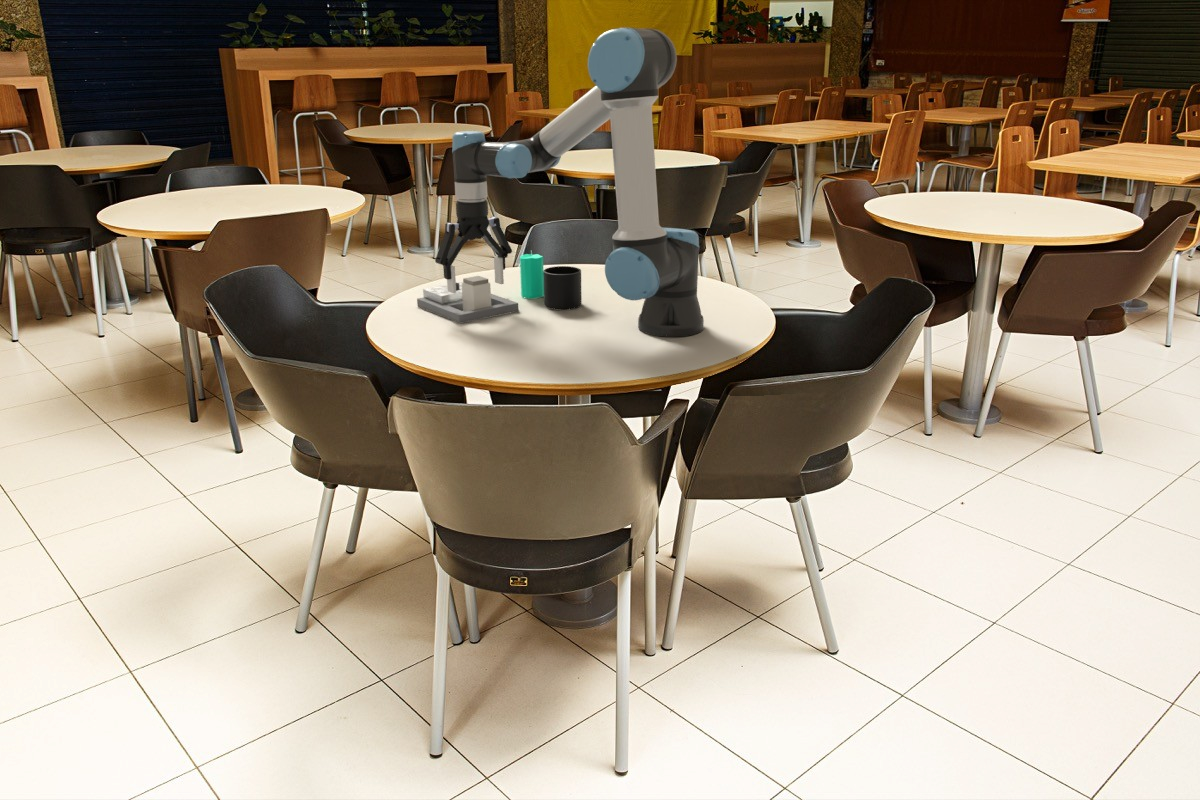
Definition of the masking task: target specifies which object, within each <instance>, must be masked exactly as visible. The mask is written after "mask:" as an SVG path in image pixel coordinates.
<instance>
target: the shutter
mask: <svg viewBox="0 0 1200 800" xmlns="http://www.w3.org/2000/svg"><path fill="white" fill-rule="evenodd" d="M462 282H463V281H461V282H456V293H451V292H449V291H448V287H447V284H443V285H439V286H433V287H426V288H423V289H422V293H423V297H425V298H428V299H430V300H433V301H436V302H438V303H441V304H444V303H450V302H455V301H460V300H463V297H462Z"/></svg>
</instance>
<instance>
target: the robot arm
mask: <svg viewBox="0 0 1200 800" xmlns="http://www.w3.org/2000/svg"><path fill="white" fill-rule="evenodd" d="M677 57H678V56H677V51H676V48H675V45H674V43H673V41H672V40H671V39H670V37H668V35H666V34H665V33H664V32H663V31H661V30H658V29H654V28H639V27H638V28H635V27H619V28H614V29H610V30H607V31H605V32H603V33H602V34H600V35H599V36H598V37H597V38H596V39H595V41H594V43H592V46H591V47H590V50H589V54H588V57H587V69H588V74H589V77H590V79H591V81H592V82H593V83H594V84H595V86H594V87H592V88H591V89H590V90H588V91H587V92H586V93H585V94H584V95H582V96H581V97H580V98H579V99H578V100H577V101H575V102H574V103H572V104H571V105H570V106H569V107H568V108H566V109H565V110H563V112H561V113H560V114H559V115H558V116H557V117H555V118H553V119H552V120H551V121H550V122H549V123H547V124H546V125H545V126H544V127H543V128H542V129H540V130H539V131H538V132H537V133H535V134H534V135H533V136H532V137H530V138H527V139H520V140H513V141H505V142H499V141H498V142H495V141H494V142H493V141H492V142H491V141H486V140H487V139H486V137H485V136H486V135H485V133H484V132H482V131H479V130H478V131H477V130H465V131H464V130H463V131H456V132H455V133H454V134H453V135H452V145H451V146H452V150H451V153H452V161H453V174H454V194H455V195H454V196H455V199H456V201H455V213H456V218H457V221H456V223H451V222H445V225H444V227H445V228H444V234H443V237H442V240H441V243H440V245H439V248H438V251H437V254H436V257H435V260H434V261H435V263H436V264H439V265H442V266H443V268H442V270H443V278H444V279H445V280H446V285H447V287H448V291H449V292H451V293H456V283H457V282H456V268H455V267H456V266H455V265H453V263H454V261H455V260H456V259H457V257H458V255H459V253H460V251H461V250H462V249H463V246H464V245H465V244H466V243H467V242H468V241H474V240H475V239H477V240H478V239H479V240H481V239H483V240H484V242H485V243H486V244H487V245H488V247H490V249H491V250H492V251H493V252H494V253H495V255H496V256H495V255H494V256H493V262H494V263H493V265H494V268H493V269H494V283H496V284H498V285H504V284H505V283H504V281H505V280H504V270H506V258H508V255H510V254H512V252H513V250H512V248H511V245H510V243H509V242H508V238H506V235H505V234H504V231H503V229H502V227H501V222H500V218H499V217H496V216H490V217H489V218H488V216H489V204H488V203H489V202H488V201H487V198H488V183H487V180H488V179H487V176H490V177H500V178H507V179H522V178H524V177H526V176H527V174H529V173H535V172H543V171H544V172H545V171H547V170H550V169H553V168H555V167H556V166H558V164H559V163H560V160H561V158H562V156H563V155H564V154H566V153H567V152H569V151H570V150H571V149H572V148H574V147H575V146H576V145H578V144H579V143H580V142H581V141H583V140H584V139H585V138H587V137H588V136H589V135H590V134H592V133H593V132H595V131H596V130H597V129H598V128H600V127H602V125H604V124H605V123H606V122H608V121H609V120H610V132H611V147H612V159H613V161H612V162H613V170H614V171H613V172H614V173H613V174H614V185H615V197H616V209H617V211H616V213H617V222H618V223H617V224H618V228H617V230H616V231H615V232H614V233H613V234H612V238H611V239H612V251H611V252H610V254H609V255H608V257H607V258H606V261H605V264H604V274H605V278H606V281H607V283H608V285H609V287H610V288H611V290H612V291H614V292H615V293H616V294H617V295H618V296H619V297H620V298H623V299H625V300H628V301H641V300H643V299H644V301H643V304H642V308H641V313H640V314H639V316H638V319H637V322H638V325H637V327H638V330H639V331H641V332H642V333H645V334H646V335H647V334H648V335H650V336H651V335H652V336H657V337H665V338H666V337H669V338H674V337H675V338H678V337H679V338H680V337H681V338H682V337H688V336H694V335H697V334H699V333H701V332H702V331H703V330H704V321H705V320H704V316H703V314H702V311H701V306H700V303H699V299H698V280H699V278H698V277H699V255H700V253H699V252H700V243H699V241H700V239H699V234H698V233H697V231H694V230H691V229H684V228H673V227H662V226H661V225H660V220H659V217H660V216H659V207H658V206H659V205H658V204H659V203H658V188H657V175H656V174H657V173H656V172H657V171H656V160H655V159H656V157H655V141H654V124H653V109H652V107H653V105H654V104H655V102H656V101H657V99H659V89H660V88H661V87H662V86H664V85H665V84H666V83H667V82H668V81H669V80H670V79H671V78H672V77H673V74H674V73H675V69H676V67H677V61H678V58H677ZM489 227H490V228H491V231H492V233H493V234H494V237H495V238H496V240H495V238H493V236H492V234H491V233H490V232H489V230H488V228H489ZM457 231H458V232H457ZM456 232H457V234H456ZM455 234H456V236H455ZM454 238H455V239H454ZM453 240H454V241H453Z"/></svg>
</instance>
